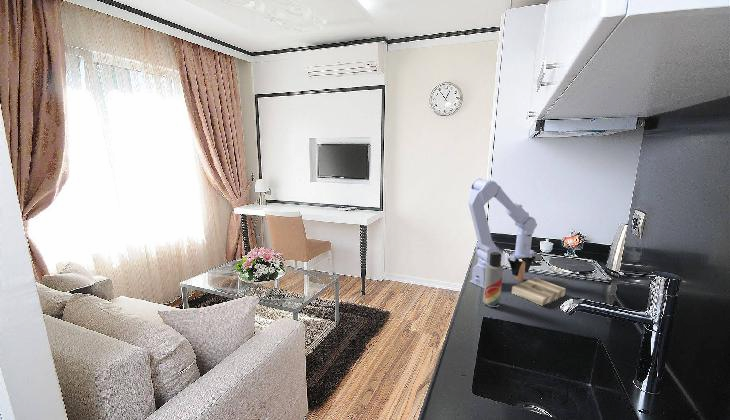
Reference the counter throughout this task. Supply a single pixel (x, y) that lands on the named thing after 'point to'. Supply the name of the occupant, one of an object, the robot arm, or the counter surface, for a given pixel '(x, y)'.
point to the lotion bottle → (493, 280)
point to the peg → (521, 272)
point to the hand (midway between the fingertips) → (520, 273)
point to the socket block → (538, 291)
